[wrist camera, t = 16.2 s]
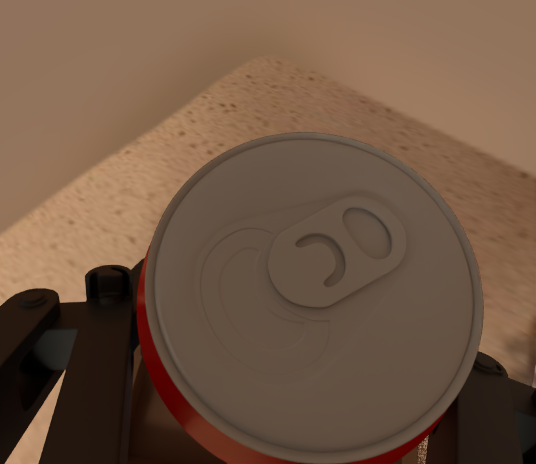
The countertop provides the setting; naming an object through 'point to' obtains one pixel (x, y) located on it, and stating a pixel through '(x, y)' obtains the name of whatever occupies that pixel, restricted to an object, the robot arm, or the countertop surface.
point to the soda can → (309, 304)
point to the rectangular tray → (170, 428)
